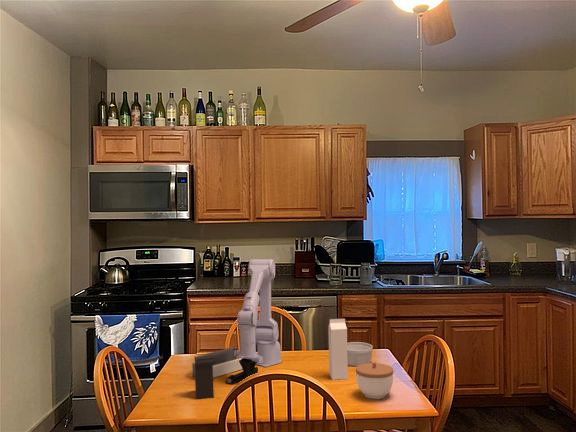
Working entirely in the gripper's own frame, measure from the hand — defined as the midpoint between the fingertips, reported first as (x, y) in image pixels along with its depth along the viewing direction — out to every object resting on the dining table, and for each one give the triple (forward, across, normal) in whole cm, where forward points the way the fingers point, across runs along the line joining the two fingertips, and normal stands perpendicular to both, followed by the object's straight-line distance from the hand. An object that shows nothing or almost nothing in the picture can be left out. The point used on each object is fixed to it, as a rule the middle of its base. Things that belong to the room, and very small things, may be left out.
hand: (248, 378), depth 184 cm
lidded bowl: (+1, +43, +20) cm, 47 cm away
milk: (+1, +22, +26) cm, 34 cm away
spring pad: (+1, -13, -1) cm, 13 cm away
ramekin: (+1, +16, +45) cm, 48 cm away
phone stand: (+1, -1, -19) cm, 19 cm away
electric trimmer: (+1, -4, 0) cm, 4 cm away
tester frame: (+1, -17, -1) cm, 17 cm away
